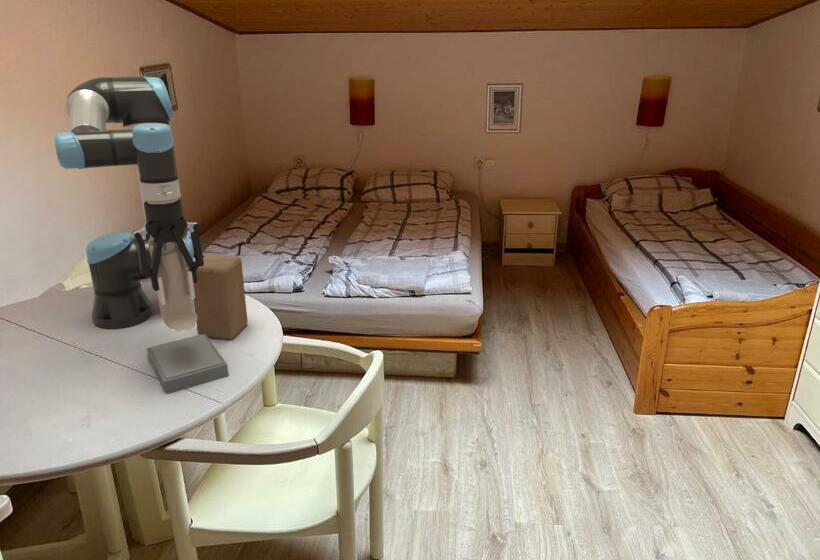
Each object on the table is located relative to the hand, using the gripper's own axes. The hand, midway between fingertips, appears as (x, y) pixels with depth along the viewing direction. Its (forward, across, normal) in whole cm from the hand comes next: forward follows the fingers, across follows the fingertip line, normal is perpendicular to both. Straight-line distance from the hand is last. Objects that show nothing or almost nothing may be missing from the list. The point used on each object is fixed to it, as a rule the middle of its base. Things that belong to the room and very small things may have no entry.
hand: (177, 299), depth 133 cm
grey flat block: (+18, 0, 0) cm, 18 cm away
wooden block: (+18, +13, +14) cm, 26 cm away
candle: (+5, 0, 0) cm, 5 cm away
